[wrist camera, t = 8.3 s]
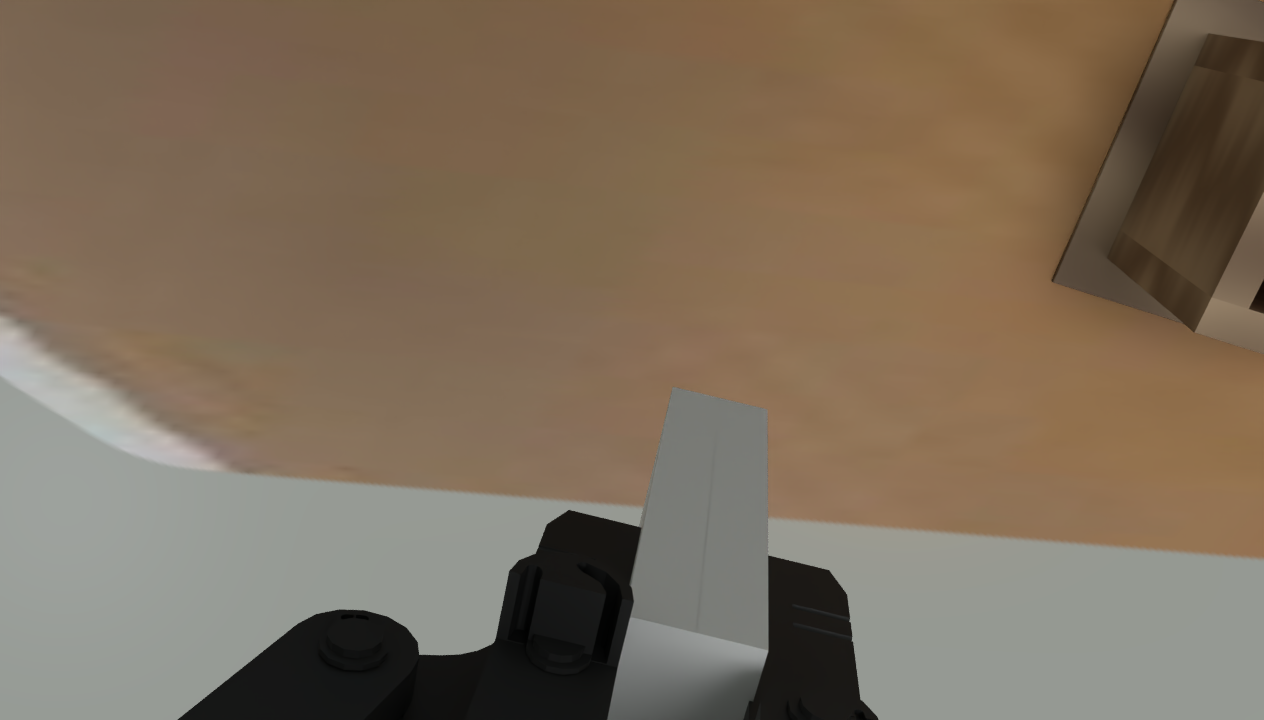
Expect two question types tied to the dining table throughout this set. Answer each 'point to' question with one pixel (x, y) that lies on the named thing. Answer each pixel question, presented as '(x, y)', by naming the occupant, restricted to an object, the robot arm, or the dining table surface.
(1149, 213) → the holder
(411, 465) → the dining table surface
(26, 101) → the dining table surface
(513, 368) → the dining table surface
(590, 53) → the dining table surface
